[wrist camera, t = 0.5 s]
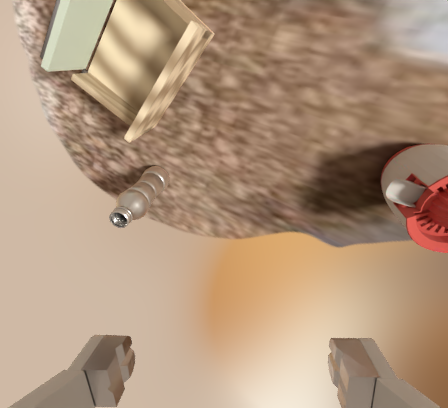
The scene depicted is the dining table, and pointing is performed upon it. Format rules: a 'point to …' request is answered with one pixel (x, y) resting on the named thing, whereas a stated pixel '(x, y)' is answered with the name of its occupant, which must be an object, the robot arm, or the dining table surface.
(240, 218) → the dining table surface
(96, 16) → the tailgate
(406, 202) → the citrus juicer
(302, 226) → the dining table surface
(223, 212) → the dining table surface
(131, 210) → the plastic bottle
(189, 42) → the tray
